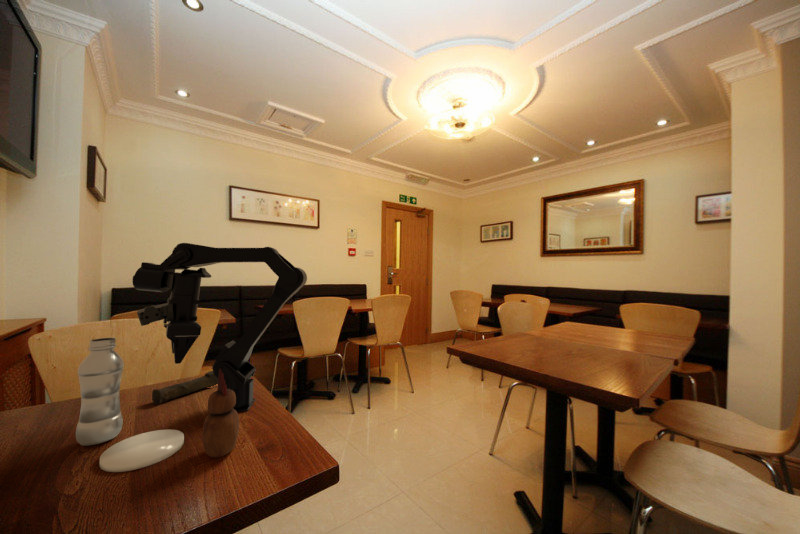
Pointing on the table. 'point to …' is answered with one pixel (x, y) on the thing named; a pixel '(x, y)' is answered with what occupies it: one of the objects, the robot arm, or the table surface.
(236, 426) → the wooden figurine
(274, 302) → the robot arm
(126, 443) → the saucer
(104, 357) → the plastic bottle
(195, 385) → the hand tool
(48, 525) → the table surface
